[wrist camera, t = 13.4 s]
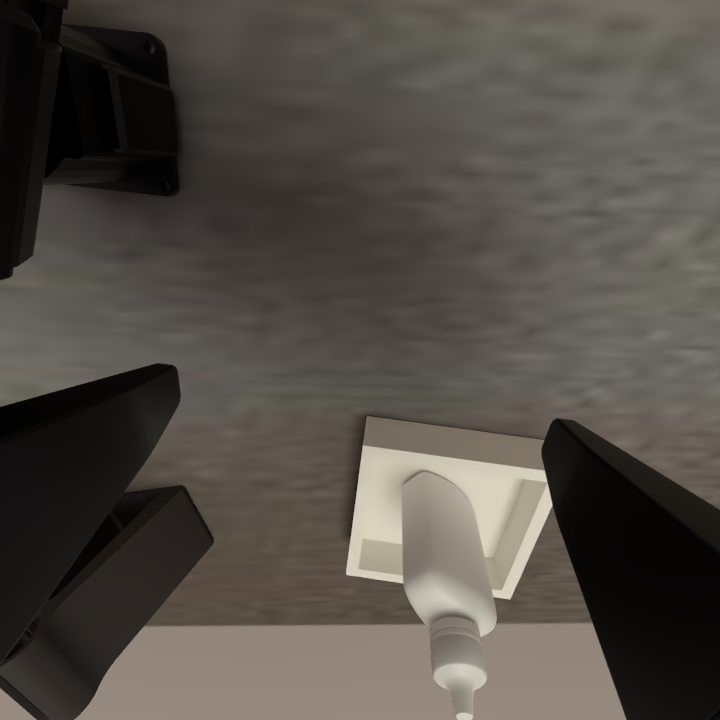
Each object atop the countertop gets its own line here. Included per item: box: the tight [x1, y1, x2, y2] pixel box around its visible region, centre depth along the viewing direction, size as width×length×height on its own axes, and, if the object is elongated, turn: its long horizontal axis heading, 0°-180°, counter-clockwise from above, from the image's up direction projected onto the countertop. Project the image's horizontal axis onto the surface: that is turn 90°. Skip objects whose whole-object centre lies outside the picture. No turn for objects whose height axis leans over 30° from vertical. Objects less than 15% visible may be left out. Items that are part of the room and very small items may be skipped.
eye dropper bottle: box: [402, 472, 497, 720], centre depth 21 cm, size 4×6×12 cm
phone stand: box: [0, 486, 214, 720], centre depth 26 cm, size 9×6×12 cm, turn 103°
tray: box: [346, 416, 552, 599], centre depth 26 cm, size 12×12×3 cm
